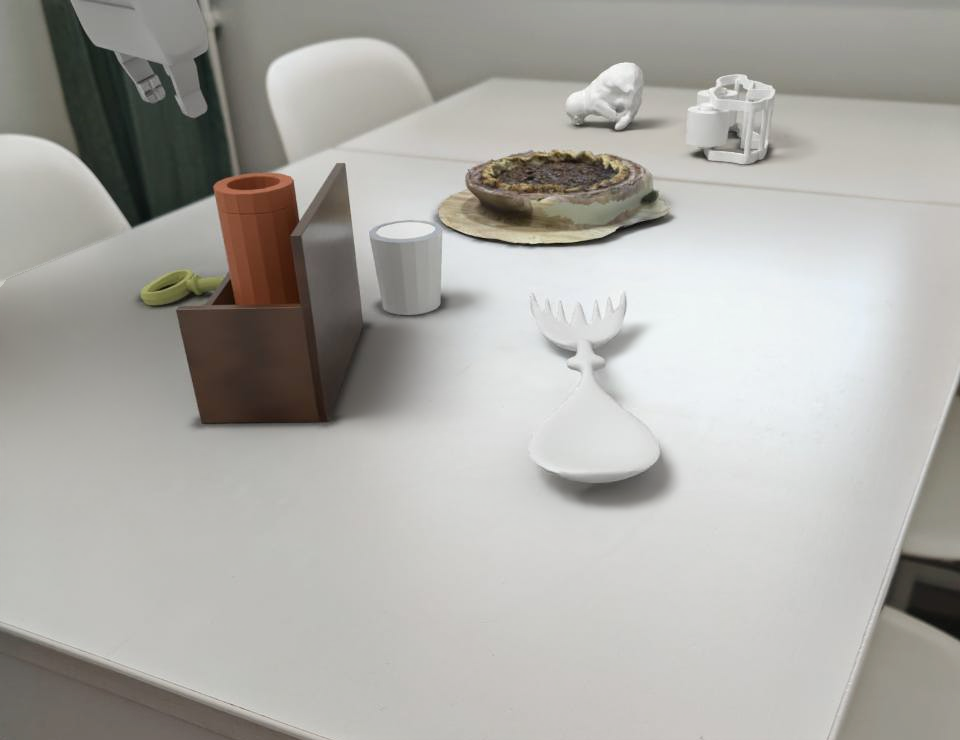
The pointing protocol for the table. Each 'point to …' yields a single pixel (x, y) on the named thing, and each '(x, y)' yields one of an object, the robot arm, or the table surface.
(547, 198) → the pie
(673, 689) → the table surface
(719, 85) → the white strut cage
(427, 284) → the white cup
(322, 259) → the box
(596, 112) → the white animal figurine
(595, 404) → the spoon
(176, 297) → the key
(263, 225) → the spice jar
